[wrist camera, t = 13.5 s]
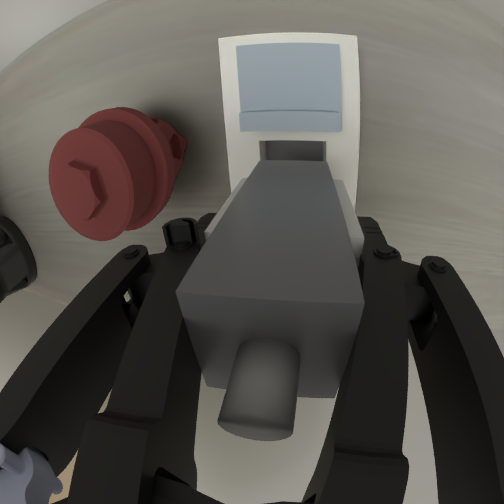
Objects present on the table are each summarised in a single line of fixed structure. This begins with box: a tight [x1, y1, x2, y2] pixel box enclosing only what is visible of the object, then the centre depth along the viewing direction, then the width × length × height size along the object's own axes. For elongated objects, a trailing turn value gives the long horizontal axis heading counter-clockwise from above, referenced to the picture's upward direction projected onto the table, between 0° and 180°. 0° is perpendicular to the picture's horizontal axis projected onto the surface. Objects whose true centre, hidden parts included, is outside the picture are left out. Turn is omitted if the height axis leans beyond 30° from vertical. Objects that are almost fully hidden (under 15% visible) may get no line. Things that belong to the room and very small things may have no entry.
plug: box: [175, 160, 365, 441], centre depth 11 cm, size 4×4×14 cm
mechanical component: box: [49, 107, 187, 241], centre depth 20 cm, size 12×10×10 cm
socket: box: [218, 32, 360, 211], centre depth 21 cm, size 10×17×4 cm, turn 3°
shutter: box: [236, 43, 342, 132], centre depth 15 cm, size 7×6×4 cm
